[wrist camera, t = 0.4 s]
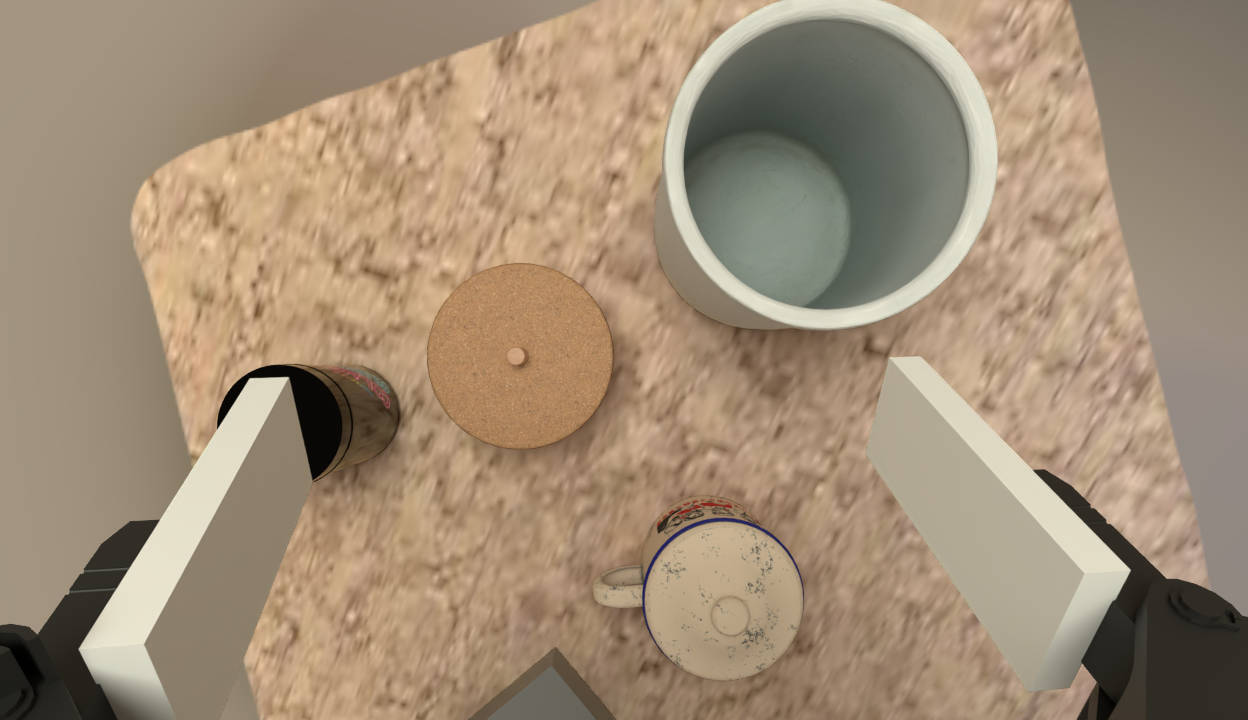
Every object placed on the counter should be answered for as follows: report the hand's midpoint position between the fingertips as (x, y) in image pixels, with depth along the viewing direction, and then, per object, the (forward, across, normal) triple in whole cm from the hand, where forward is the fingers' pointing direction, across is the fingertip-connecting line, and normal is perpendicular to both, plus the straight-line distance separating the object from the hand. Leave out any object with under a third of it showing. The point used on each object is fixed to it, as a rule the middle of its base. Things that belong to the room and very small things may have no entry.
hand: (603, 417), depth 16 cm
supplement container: (+29, +14, +19) cm, 38 cm away
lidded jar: (+30, +1, +15) cm, 33 cm away
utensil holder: (+32, -14, +7) cm, 36 cm away
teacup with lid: (+22, -8, +27) cm, 35 cm away
